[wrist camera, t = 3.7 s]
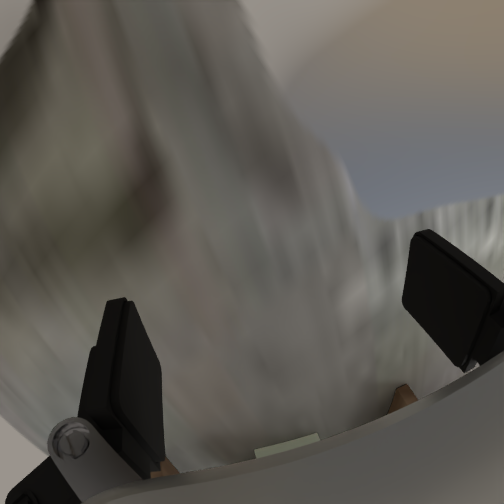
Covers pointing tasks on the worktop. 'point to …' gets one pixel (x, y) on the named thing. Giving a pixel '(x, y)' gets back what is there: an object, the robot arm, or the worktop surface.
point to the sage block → (286, 445)
